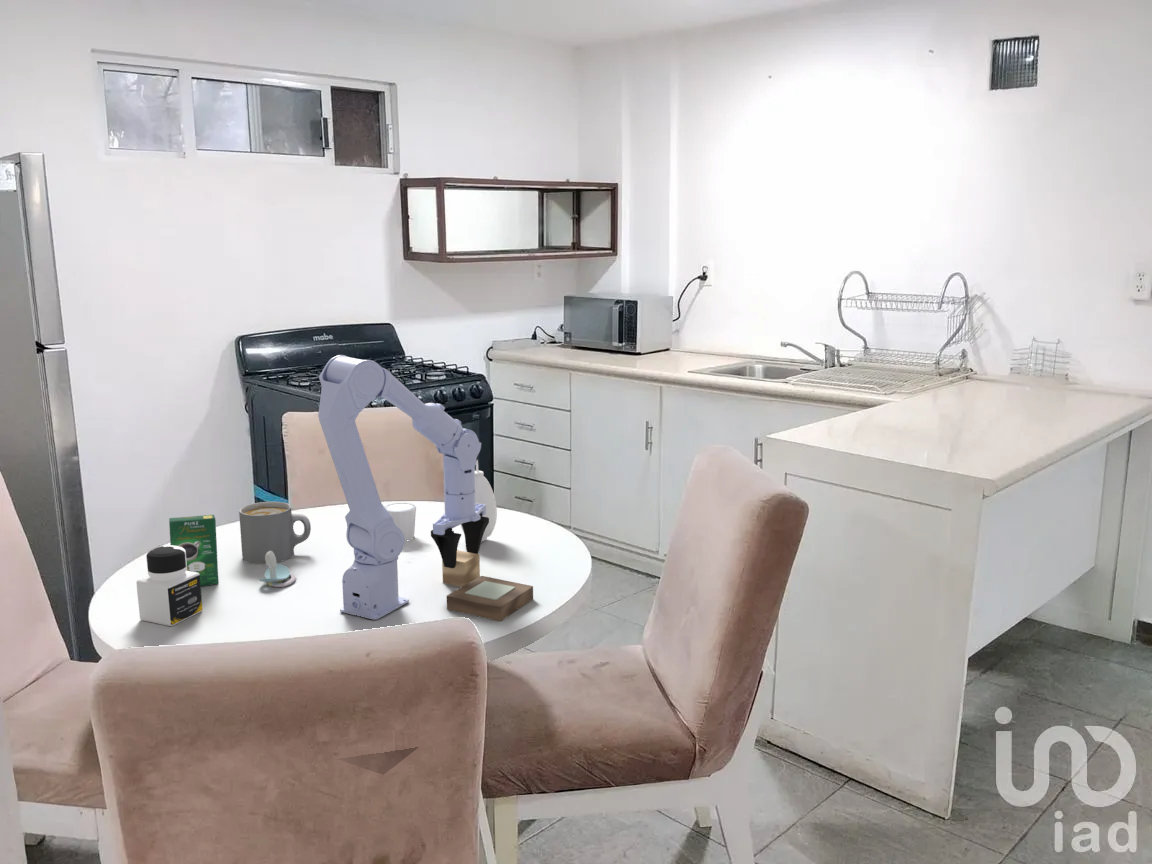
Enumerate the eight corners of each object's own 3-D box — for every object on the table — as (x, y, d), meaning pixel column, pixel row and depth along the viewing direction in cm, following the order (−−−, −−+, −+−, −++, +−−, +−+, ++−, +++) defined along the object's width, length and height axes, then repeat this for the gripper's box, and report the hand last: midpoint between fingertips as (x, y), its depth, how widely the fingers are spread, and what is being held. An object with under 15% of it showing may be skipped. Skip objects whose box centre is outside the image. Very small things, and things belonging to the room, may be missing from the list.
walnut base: (500, 621, 153) (500, 606, 153) (446, 609, 158) (446, 594, 158) (533, 599, 163) (533, 585, 162) (481, 588, 168) (481, 574, 167)
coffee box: (219, 579, 172) (214, 512, 169) (220, 584, 169) (215, 516, 166) (173, 585, 169) (167, 517, 166) (173, 590, 166) (167, 521, 163)
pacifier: (300, 576, 174) (268, 575, 174) (299, 545, 173) (267, 544, 173) (289, 590, 167) (256, 590, 167) (289, 558, 166) (255, 557, 165)
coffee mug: (236, 564, 180) (232, 516, 178) (250, 548, 189) (246, 501, 187) (305, 563, 181) (302, 514, 179) (315, 546, 190) (313, 500, 188)
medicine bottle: (171, 627, 150) (165, 558, 148) (139, 620, 153) (132, 552, 150) (203, 611, 157) (198, 545, 154) (171, 605, 159) (165, 539, 157)
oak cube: (464, 588, 168) (464, 562, 167) (442, 583, 171) (442, 558, 170) (479, 579, 173) (479, 554, 172) (458, 574, 175) (457, 550, 174)
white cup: (409, 544, 192) (408, 512, 191) (379, 541, 194) (378, 510, 192) (421, 534, 199) (420, 503, 198) (392, 531, 200) (391, 501, 199)
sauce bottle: (481, 549, 189) (480, 465, 186) (452, 543, 193) (450, 460, 190) (504, 539, 196) (503, 458, 192) (475, 533, 200) (473, 453, 196)
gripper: (455, 503, 160) (456, 576, 163) (498, 484, 173) (500, 552, 175) (422, 498, 163) (424, 570, 166) (467, 480, 176) (469, 546, 179)
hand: (461, 560), depth 171 cm, fingers open, 7 cm apart
